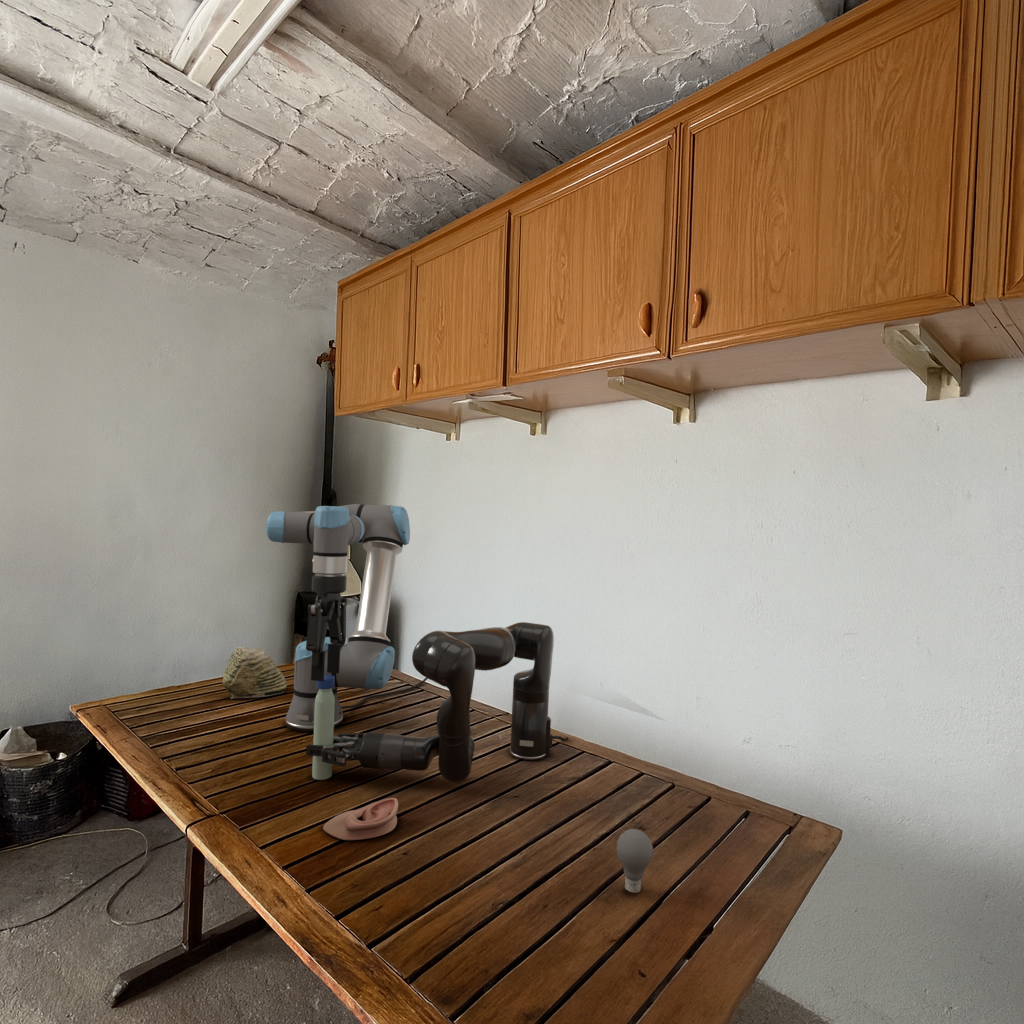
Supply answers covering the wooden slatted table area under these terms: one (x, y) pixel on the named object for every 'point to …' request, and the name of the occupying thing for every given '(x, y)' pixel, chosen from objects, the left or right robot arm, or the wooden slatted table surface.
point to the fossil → (252, 674)
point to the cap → (326, 682)
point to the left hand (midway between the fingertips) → (325, 676)
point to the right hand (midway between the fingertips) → (311, 745)
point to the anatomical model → (364, 821)
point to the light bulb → (634, 857)
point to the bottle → (323, 731)
